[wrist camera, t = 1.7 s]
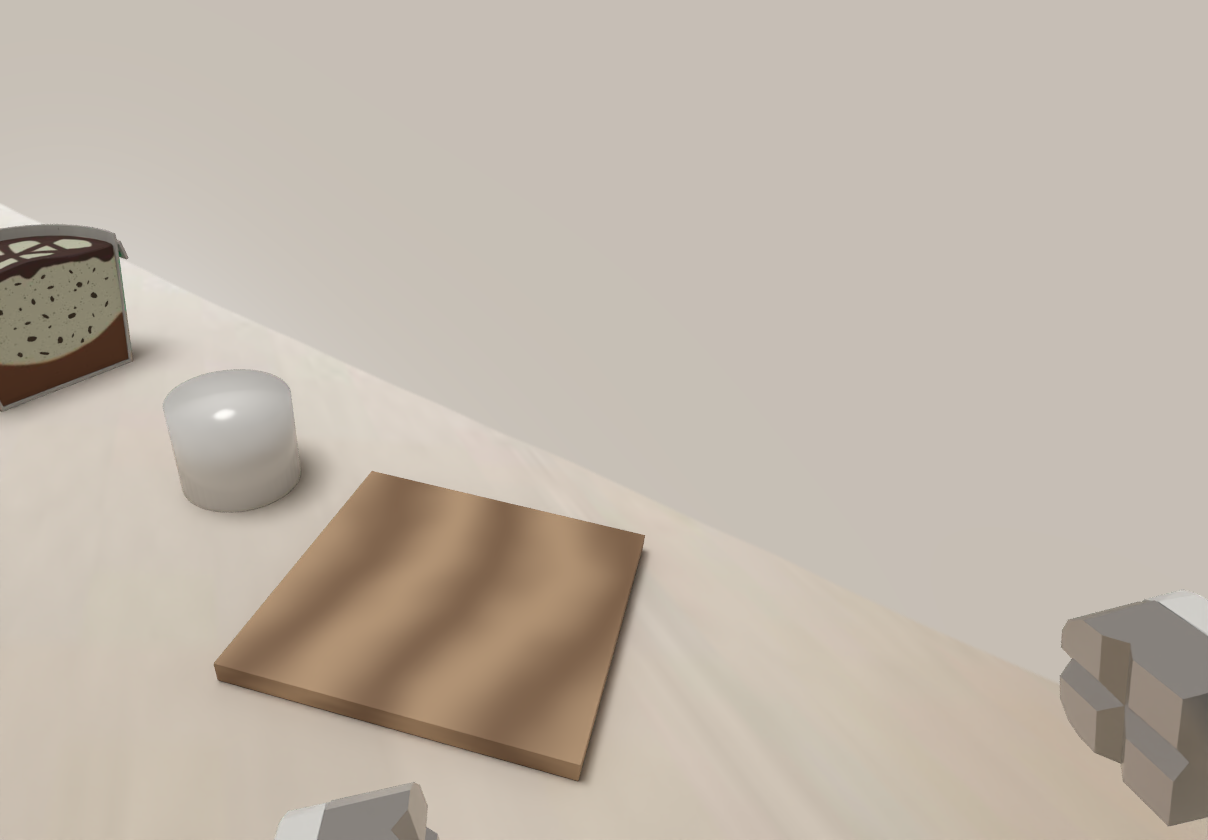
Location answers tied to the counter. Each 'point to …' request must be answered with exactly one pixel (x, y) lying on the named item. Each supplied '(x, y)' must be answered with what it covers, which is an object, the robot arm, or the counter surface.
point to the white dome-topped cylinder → (233, 439)
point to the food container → (59, 309)
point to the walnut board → (448, 622)
